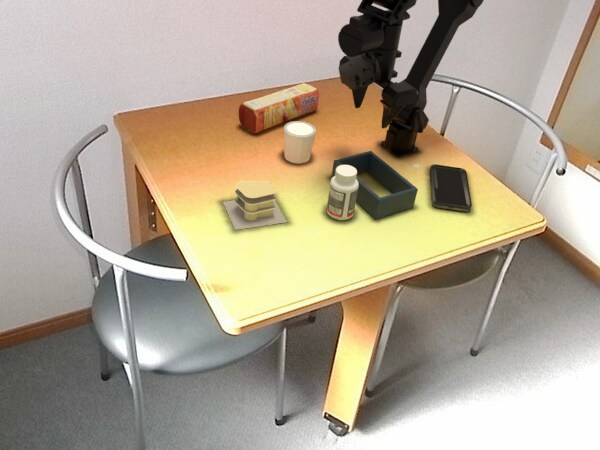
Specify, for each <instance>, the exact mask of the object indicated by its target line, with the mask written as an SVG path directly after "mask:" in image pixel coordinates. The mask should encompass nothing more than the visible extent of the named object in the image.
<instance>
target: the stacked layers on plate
mask: <svg viewBox="0 0 600 450" xmlns="http://www.w3.org/2000/svg"><path fill="white" fill-rule="evenodd" d="M235 188H236V190H234V194H235V195H236V198H235V199H234V200H227V201H223V202H222V203H223V205H224V208H225V209H226V212H227V215H228V216H229V220H230V222H231V224H232V227H233V228H234V230H235V231H238V230H243V229H251V228H257V227H258V228H259V227H264V226H270V225H278V224H285V223H287V220H286V218H285V216H284V215H283V214H284V213H282V211H281V209H280V207H279V205H278V203H277V202H276V201H277V199H278V198H277V196H276V194H277V193H278V191H277V190H276V188H275V186H274V184H273V182H272V181H270V180H251V179H250V180H249V179H247V180H239V181H238V182H237V183H236V184H235Z"/></svg>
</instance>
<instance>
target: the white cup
mask: <svg viewBox="0 0 600 450" xmlns="http://www.w3.org/2000/svg"><path fill="white" fill-rule="evenodd" d="M283 127H284V128H283V150H284V154H283V156H284V159H285V160H286V161H288V162H289V163H293V164H298V165H299V164H300V165H301V164H305V163H307V162H309V161H310V159H311V155H312V152H313V148H314V147H313V146H314V141H315V137H316V132H317V129H316V127H315V126H314V125H313V124H311V123H309V122H306V121H301V120H299V121H298V120H295V121H289V122H287V123H285V125H284V126H283Z"/></svg>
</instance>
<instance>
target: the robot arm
mask: <svg viewBox="0 0 600 450" xmlns="http://www.w3.org/2000/svg"><path fill="white" fill-rule="evenodd" d="M484 1H485V0H437V8H438V9H437V11H438V15H437V17H436V19H435V21H434V23H433V25H432V27H431V29H430V31H429V32H428V35H427V36H426V39H425V40H424V42H423V44H422V45H421V46H422V47H421V48H420V50H419V52H418V54H417V56H416V58H415V60H414V62H413V63H412V66H411V68H410V70H409V71H408V73H407V76H406V77H405V78H404V79H402V80H401V81H400V82H397V81H395V82H394V81H392V80H393V79H395V78H397V77H398V73H399V72H398V71H397V70H396V69H395V66H396V61H397V59H399V58H401V57H402V53H403V52H402V51H400V50H399V45H400V39H401V33H402V29H403V23H404V21H406V20H409V19H411V15H410V13H409V12H408V10H410V9H411V8H413V7H415V6H416V4H417V2H418V0H361V1H360V3H359V5H358V7H357V9H356V11H357V12H358V13H360V15H353V16H350V17H349V21H348V23H347V24H345V25H343V26H342V27H341V28H340V31H339V32H338V34H337V35H338V36H337V41H338V46H339V49H340V50H341V52H342V53H343V54H344V55H343V57H342V58H341V59H340V60H339V64H338V73H339V78H340V83H341V84H342V85H345V86H346V87H347V88H348V89H349V90H351V94H352V99H353V103H354V108H355V109H360V108H361V106H362V105H363V102H364V100H365V96H366V93H367V91H368V88H369V86H370V85H372V84H373V83H374V84H376V85H377V86H378V87H380V88H381V94H380V95H381V99H379V102H380V104H381V105H382V107H383V108H382V116H381V129H382V130H383V129H387V128H388V129H387V130H386V134H385V140H382V141H381V142H380V144H381V146H383V147H384V148H385V149H386V150H388V151H389V152H390V153H391V154H393V155H394V156H395V157H397V158H398V157H402V156H406V155H410V154H414V153H417V152H419V151H420V149H419V147H418V146H416V142H417V137H418V134H422V133H424V130H426V128H427V127H428V124H429V122H430V119H429V117H428V116H427V114H426V112H425V109H426V106H427V103H428V101H427V100H428V99H427V97H428V96H427V89H428V87H429V84H430V82H431V80H432V79H433V77H434V74H435V73H436V71H437V69H438V67H439V65H440V64H441V61H442V60H443V57H444V56H445V54H446V52H447V50H448V49H449V46H450V44H451V42H452V40H453V38H454V37H455V35H456V33H457V31H458V29H459V27H460V26H461V25H463V24H465V22H468V21H469V20H470V19H472V18H473V17H474V15H475V14H476V12H477V11H478V9H479V7H481V6H482V5H483V3H484ZM375 5H376V6H375ZM377 6H379V7H377ZM380 7H381V8H380ZM383 8H384V9H386V10H384V9H383Z"/></svg>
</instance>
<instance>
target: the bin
mask: <svg viewBox="0 0 600 450" xmlns="http://www.w3.org/2000/svg"><path fill="white" fill-rule="evenodd" d="M340 165H350V166H353V167H354V168H355V169H356V170H357V175H358V174H362V173H365V172H367V173H369V174H370V175H371V176H372V177H374V178H375V179H376V180H377V181H378V182H379V183H380V184H382V185H383V186H384V187H385V188H386V189H387V190H389V191H390V192H391V194H387V195H385V196H381V197H380V196H379V195H378V194H377V193H375V191H373V190H372V189H371V188H370V187H369V186H368V185H366V183H364V182H363V181H362V180H361V179H360V178H359V177H357V178H356V179H357V181H358V183H359V187H358V192H357V198H356V204H358V205H359V206H360V207H362V209H364V211H366V212H367V213H368V214H369V215H370V216H371V217H372V218H373V219H374V220H378V219H382V218H384V217H388V216H390V215H394V214H397V213H400V212H403V211H407V210H410V209H412V208H414V207H415V202H416V199H417V194H418V190H419V189H418V188H417V187H416V186H415V185H414V184H412V183H411V182H410V181H409V180H408V179H406V178H405V177H404V176H402V174H400V173H399V172H397V171H396V169H394V168H393V167H392V166H390V165H389V164H388V163H387V162H386V161H385V160H383V159H382V158H381V157H380V156H378V155H377V154H375V152H373V151H372V150H369V151H368V150H367V151H364V152H361V153H356V154H353V155H349V156H344V157H341V158H336V159H334V160H333V163H332V170H331V178H330V179H332V178H333V177H334V176H335V172H336V168H337V167H338V166H340Z"/></svg>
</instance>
